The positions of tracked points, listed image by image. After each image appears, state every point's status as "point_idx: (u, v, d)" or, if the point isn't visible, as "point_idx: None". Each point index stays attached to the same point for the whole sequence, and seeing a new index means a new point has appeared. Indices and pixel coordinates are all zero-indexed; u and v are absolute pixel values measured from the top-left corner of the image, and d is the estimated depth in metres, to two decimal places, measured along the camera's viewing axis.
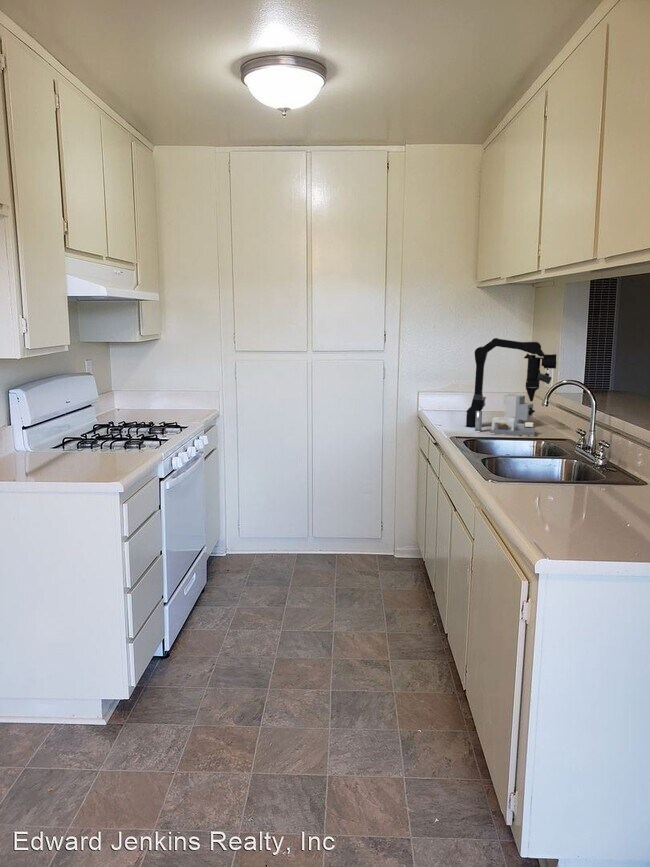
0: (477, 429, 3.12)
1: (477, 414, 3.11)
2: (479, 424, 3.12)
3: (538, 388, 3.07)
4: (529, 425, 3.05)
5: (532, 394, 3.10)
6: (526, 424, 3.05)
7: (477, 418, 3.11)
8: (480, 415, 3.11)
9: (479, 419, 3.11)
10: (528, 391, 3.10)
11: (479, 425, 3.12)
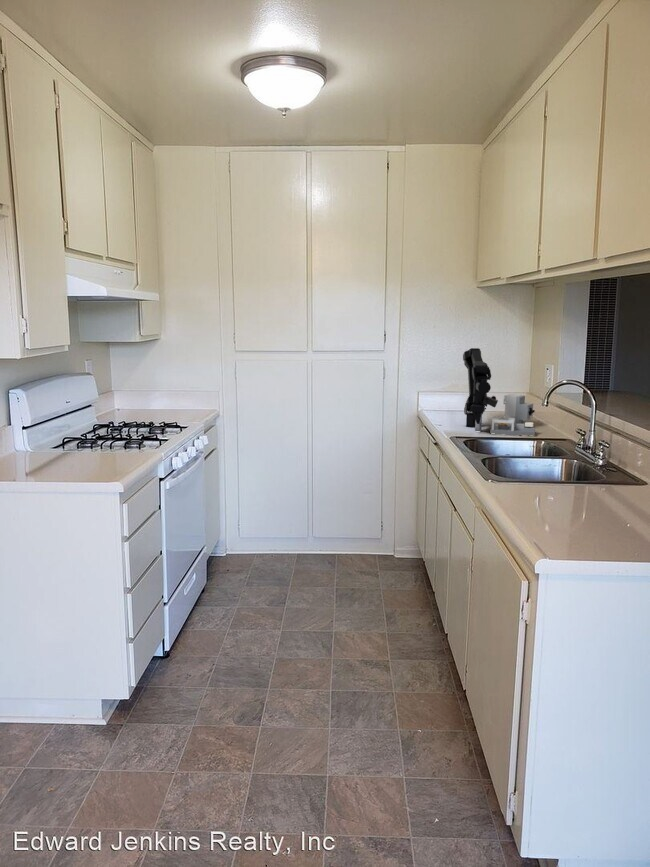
0: (477, 429, 3.12)
1: None
2: (479, 424, 3.12)
3: None
4: (529, 425, 3.05)
5: (478, 417, 3.10)
6: (526, 424, 3.05)
7: None
8: None
9: None
10: (474, 414, 3.10)
11: (479, 425, 3.12)
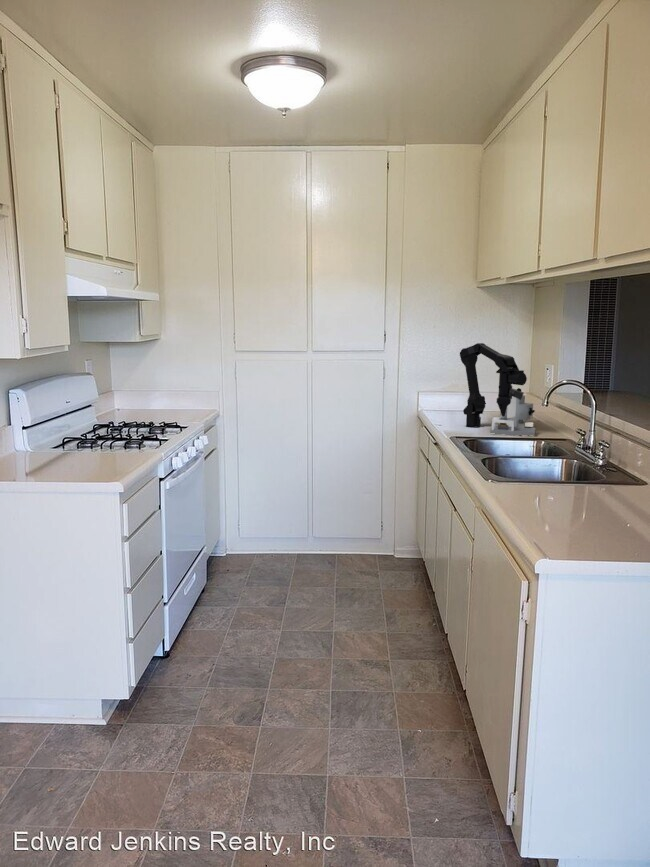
0: None
1: None
2: (504, 417, 3.08)
3: None
4: (529, 425, 3.05)
5: (504, 409, 3.06)
6: (526, 424, 3.05)
7: None
8: None
9: None
10: (500, 406, 3.06)
11: (504, 418, 3.09)
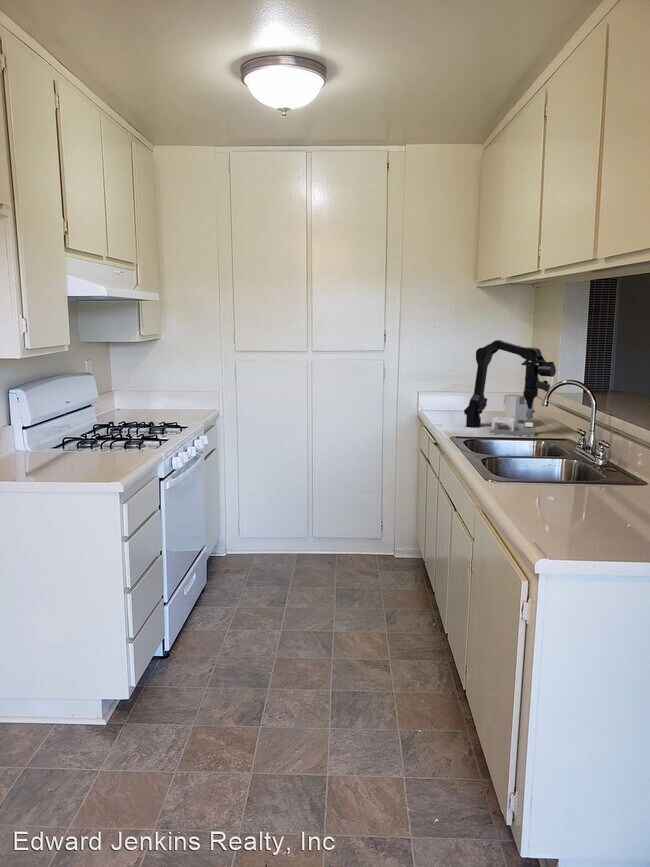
0: (528, 414, 3.05)
1: None
2: (531, 409, 3.04)
3: (536, 395, 2.99)
4: (529, 425, 3.05)
5: (530, 402, 3.02)
6: (526, 424, 3.05)
7: None
8: None
9: None
10: (526, 399, 3.02)
11: (531, 410, 3.04)
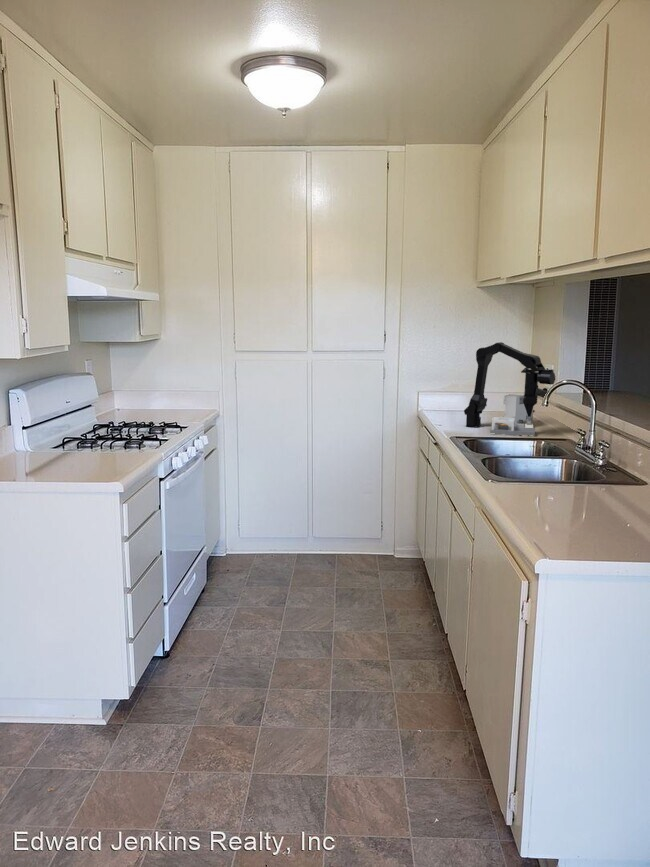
0: (528, 422, 3.05)
1: None
2: (530, 417, 3.05)
3: (536, 403, 3.00)
4: (529, 426, 3.05)
5: (530, 409, 3.03)
6: (526, 425, 3.06)
7: None
8: None
9: None
10: (526, 406, 3.03)
11: (530, 418, 3.05)
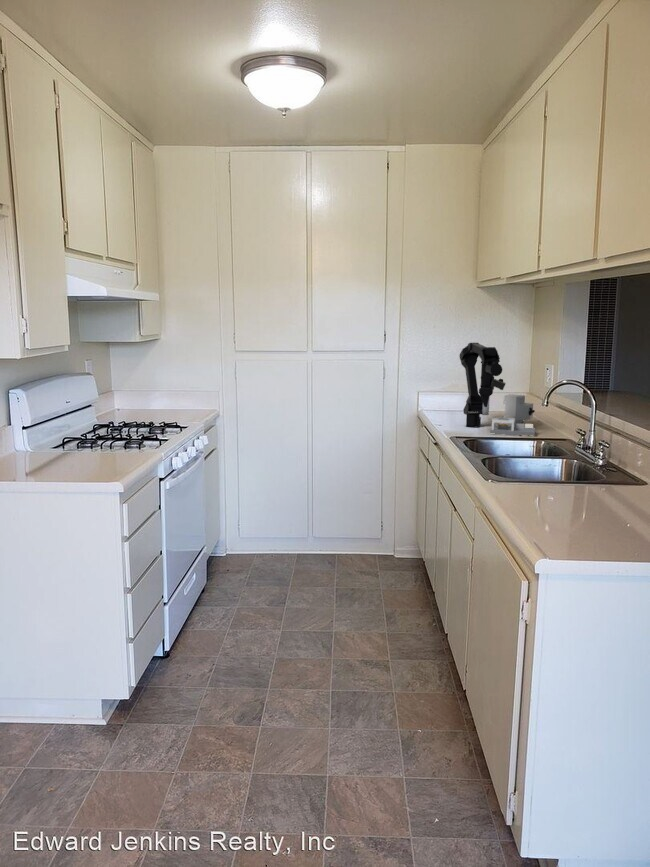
0: (484, 412, 3.10)
1: None
2: (486, 407, 3.09)
3: None
4: (529, 426, 3.05)
5: (486, 400, 3.07)
6: (526, 425, 3.06)
7: None
8: None
9: None
10: (482, 397, 3.07)
11: (486, 408, 3.10)
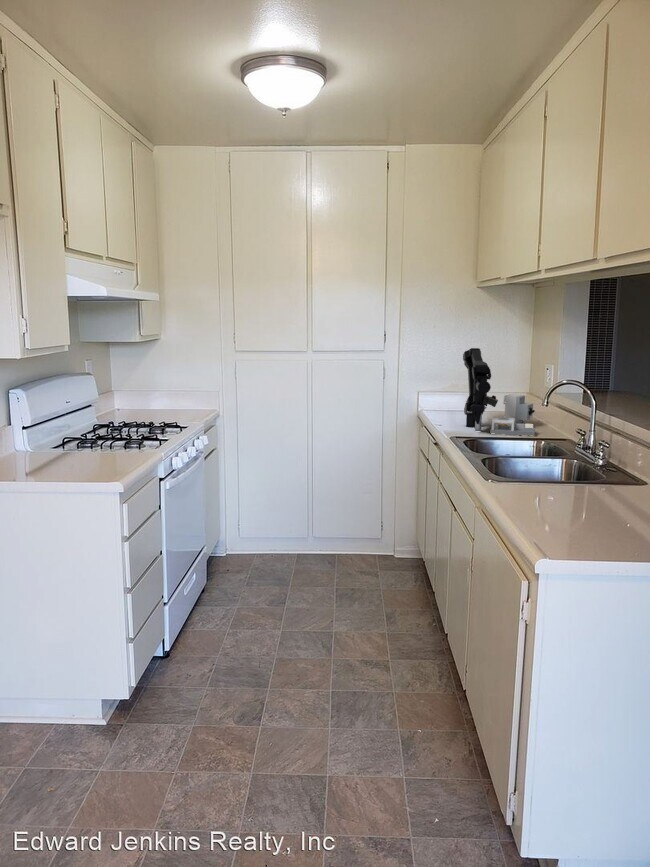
0: (477, 429, 3.12)
1: None
2: (479, 424, 3.12)
3: None
4: (529, 426, 3.05)
5: (478, 417, 3.08)
6: (526, 425, 3.06)
7: None
8: None
9: None
10: (474, 414, 3.08)
11: (479, 425, 3.12)
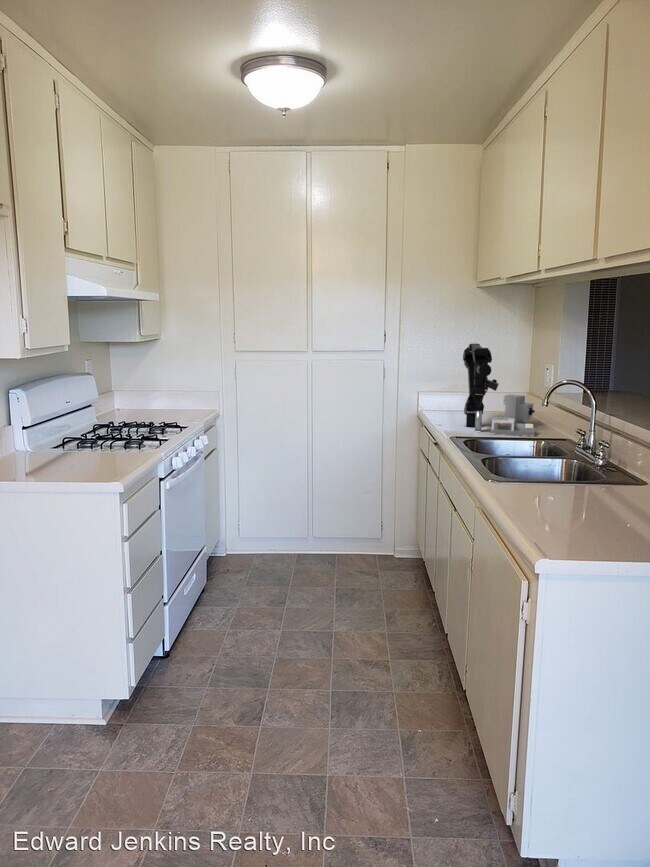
0: (477, 429, 3.12)
1: (477, 414, 3.11)
2: (479, 424, 3.12)
3: None
4: (529, 426, 3.05)
5: (479, 401, 3.05)
6: (526, 425, 3.06)
7: (477, 418, 3.12)
8: (480, 415, 3.11)
9: (479, 419, 3.11)
10: (474, 398, 3.05)
11: (479, 425, 3.12)
